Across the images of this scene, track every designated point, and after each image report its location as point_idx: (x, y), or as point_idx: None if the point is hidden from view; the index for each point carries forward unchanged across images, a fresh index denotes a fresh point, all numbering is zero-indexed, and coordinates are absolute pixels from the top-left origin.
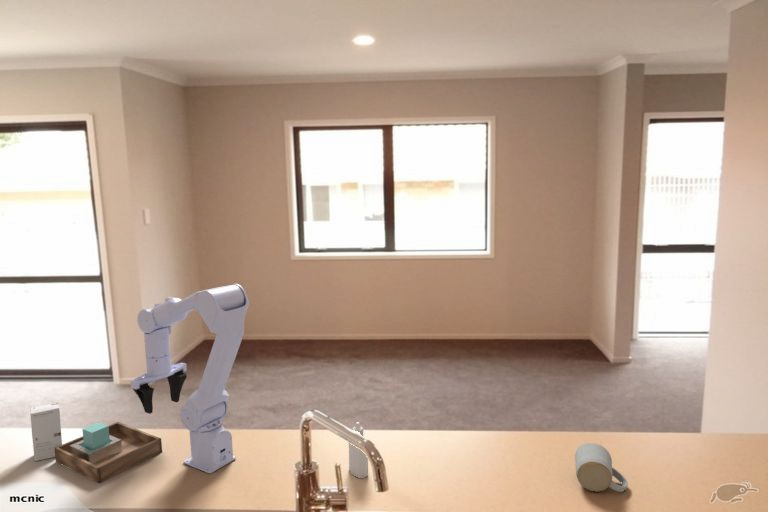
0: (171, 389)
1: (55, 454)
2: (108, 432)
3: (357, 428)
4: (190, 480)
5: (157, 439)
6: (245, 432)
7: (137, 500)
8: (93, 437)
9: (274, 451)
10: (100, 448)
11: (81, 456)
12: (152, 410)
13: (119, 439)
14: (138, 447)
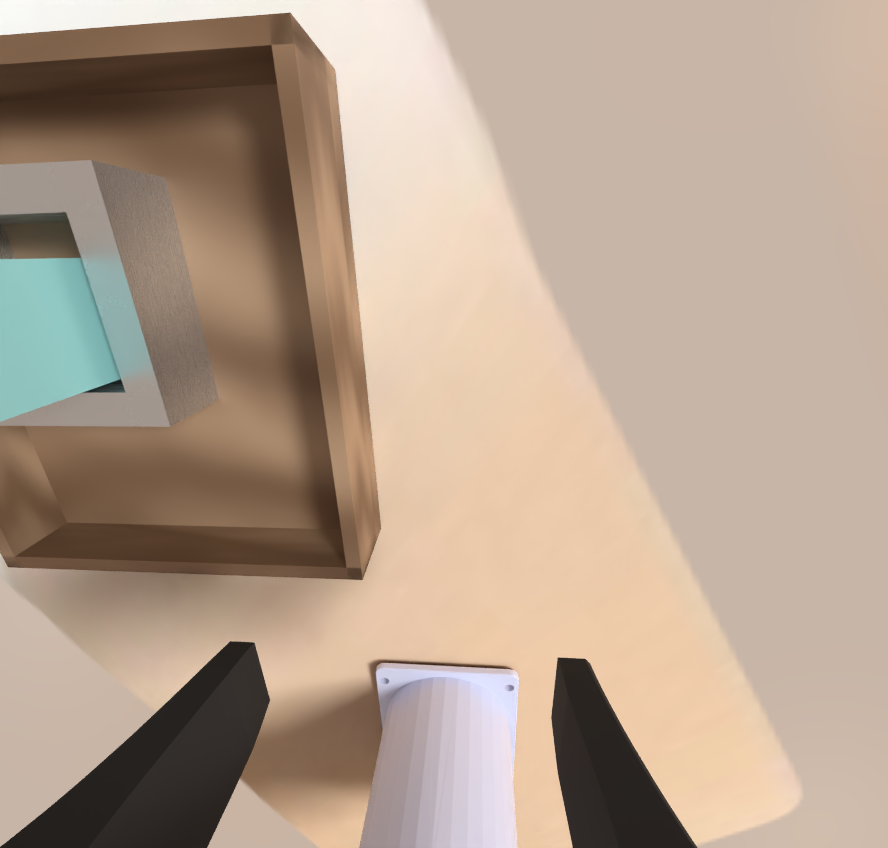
0: (602, 834)
1: None
2: (30, 410)
3: None
4: (329, 737)
5: (342, 572)
6: (717, 690)
7: (159, 692)
8: None
9: None
10: (35, 420)
11: None
12: (258, 730)
13: (163, 413)
14: (301, 436)
